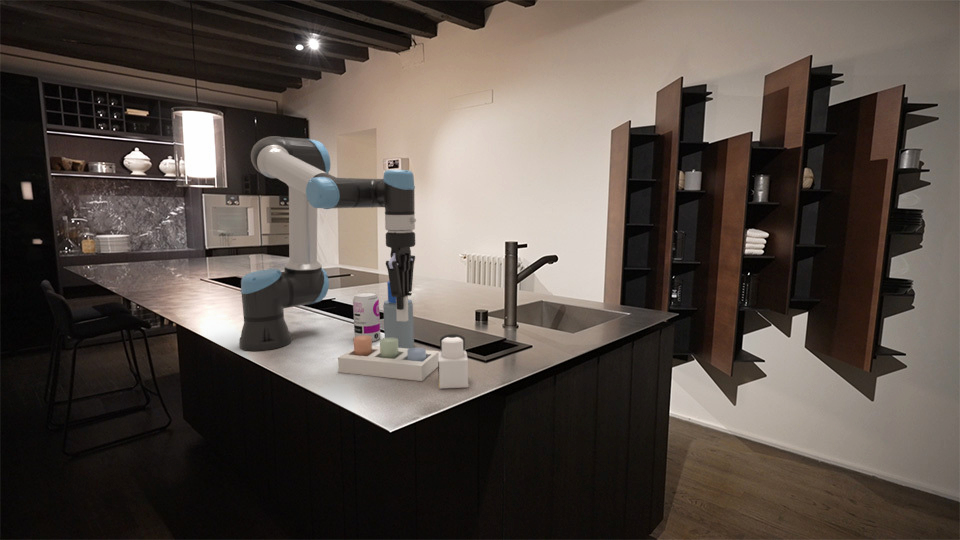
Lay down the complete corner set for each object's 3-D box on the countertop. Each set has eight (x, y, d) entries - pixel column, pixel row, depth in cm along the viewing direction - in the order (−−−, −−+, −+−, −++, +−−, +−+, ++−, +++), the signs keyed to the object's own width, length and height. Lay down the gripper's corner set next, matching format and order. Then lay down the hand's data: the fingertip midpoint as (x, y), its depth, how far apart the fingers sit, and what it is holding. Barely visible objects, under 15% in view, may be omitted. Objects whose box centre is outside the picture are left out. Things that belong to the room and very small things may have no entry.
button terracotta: (350, 357, 131) (349, 339, 130) (360, 352, 135) (359, 334, 134) (366, 359, 129) (365, 341, 128) (375, 353, 134) (374, 336, 133)
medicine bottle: (438, 378, 123) (437, 332, 121) (466, 377, 124) (466, 331, 122) (438, 389, 116) (437, 340, 114) (468, 387, 117) (467, 339, 115)
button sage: (377, 360, 128) (376, 341, 128) (385, 354, 133) (385, 336, 132) (393, 361, 127) (392, 343, 126) (401, 355, 131) (401, 338, 131)
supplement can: (383, 336, 162) (381, 292, 159) (375, 343, 153) (373, 297, 151) (359, 335, 162) (357, 292, 160) (351, 342, 154) (348, 297, 152)
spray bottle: (394, 342, 155) (391, 264, 151) (419, 344, 152) (416, 265, 148) (379, 350, 146) (376, 268, 143) (405, 353, 143) (403, 270, 140)
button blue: (404, 370, 126) (404, 352, 126) (412, 364, 131) (412, 346, 130) (421, 372, 125) (421, 353, 124) (429, 366, 129) (428, 348, 129)
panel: (338, 372, 128) (337, 357, 128) (362, 357, 139) (361, 344, 139) (421, 381, 121) (421, 365, 121) (439, 365, 133) (439, 351, 132)
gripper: (402, 233, 116) (405, 328, 120) (423, 229, 129) (425, 315, 133) (374, 232, 119) (377, 325, 122) (398, 229, 131) (400, 313, 135)
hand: (402, 320), depth 127 cm, fingers closed
